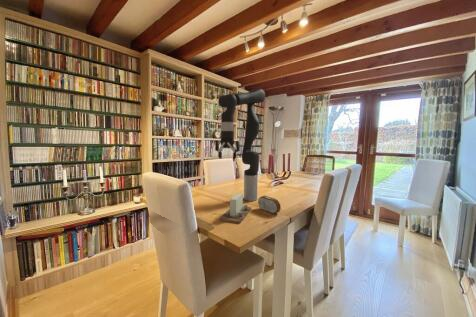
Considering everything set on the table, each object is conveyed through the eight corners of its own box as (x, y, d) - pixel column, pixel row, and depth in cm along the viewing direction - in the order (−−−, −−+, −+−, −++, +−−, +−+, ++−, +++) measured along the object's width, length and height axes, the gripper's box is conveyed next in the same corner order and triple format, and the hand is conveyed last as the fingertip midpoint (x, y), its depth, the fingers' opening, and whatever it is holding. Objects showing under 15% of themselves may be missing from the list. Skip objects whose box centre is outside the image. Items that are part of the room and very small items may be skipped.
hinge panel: (233, 207, 124) (233, 200, 124) (251, 209, 121) (251, 202, 120) (219, 220, 104) (219, 212, 103) (240, 223, 100) (240, 215, 100)
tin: (280, 214, 113) (281, 199, 112) (277, 215, 111) (277, 200, 110) (260, 207, 124) (260, 194, 123) (257, 208, 122) (257, 194, 121)
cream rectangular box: (229, 215, 107) (229, 199, 106) (237, 208, 118) (237, 193, 117) (236, 216, 106) (236, 199, 105) (242, 209, 117) (242, 193, 116)
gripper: (213, 130, 115) (213, 158, 116) (237, 130, 110) (236, 159, 112) (218, 130, 122) (218, 157, 123) (241, 130, 117) (240, 158, 119)
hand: (227, 158), depth 117 cm, fingers open, 8 cm apart
